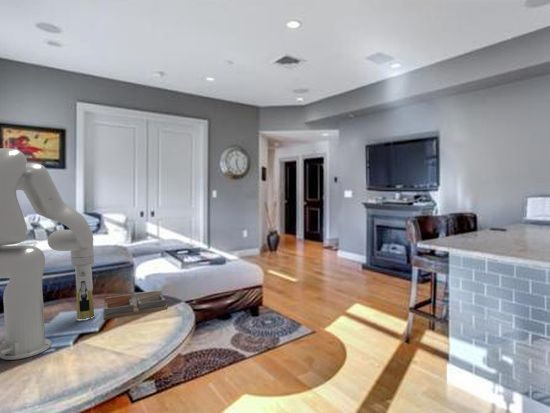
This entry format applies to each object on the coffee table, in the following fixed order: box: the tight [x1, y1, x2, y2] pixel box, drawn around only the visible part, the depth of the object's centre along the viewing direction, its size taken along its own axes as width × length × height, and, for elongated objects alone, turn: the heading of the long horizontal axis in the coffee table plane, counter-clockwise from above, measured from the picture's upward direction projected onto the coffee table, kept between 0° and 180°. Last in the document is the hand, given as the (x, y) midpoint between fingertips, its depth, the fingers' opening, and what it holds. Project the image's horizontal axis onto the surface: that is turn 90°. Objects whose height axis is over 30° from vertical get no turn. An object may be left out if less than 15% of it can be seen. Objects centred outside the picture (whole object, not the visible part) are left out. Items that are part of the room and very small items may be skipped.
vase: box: [75, 284, 95, 319], centre depth 132 cm, size 6×6×14 cm
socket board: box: [102, 289, 168, 320], centre depth 141 cm, size 12×23×6 cm, turn 117°
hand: (85, 308), depth 133 cm, fingers closed on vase, 5 cm apart
